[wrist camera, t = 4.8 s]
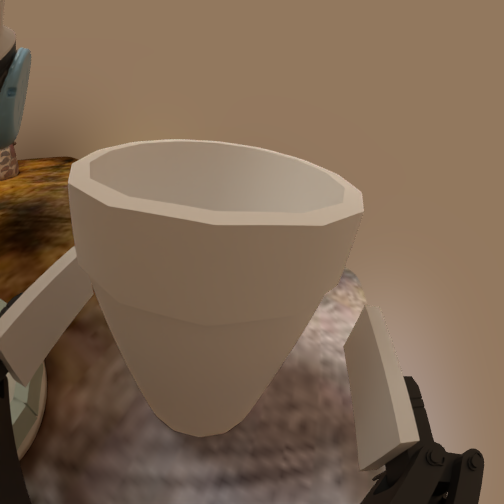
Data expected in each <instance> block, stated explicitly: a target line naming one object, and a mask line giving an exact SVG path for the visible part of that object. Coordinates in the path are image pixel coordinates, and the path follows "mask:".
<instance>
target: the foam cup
mask: <svg viewBox="0 0 504 504" xmlns="http://www.w3.org/2000/svg"><path fill="white" fill-rule="evenodd" d="M68 191H69V203H70V213H71V221H72V229H73V236H74V243H75V249H76V255H77V260H78V265H79V266H80V267H81V268H82V269H83V270H84V271H85V272H86V273H88V275H89V277H90V280H91V283H92V286H93V289H94V291H95V294H96V297H97V299H98V302H99V304H100V307H101V309H102V312H103V314H104V317H105V319H106V321H107V324H108V326H109V328H110V331H111V333H112V335H113V337H114V340H115V342H116V344H117V346H118V348H119V350H120V352H121V354H122V356H123V358H124V360H125V362H126V364H127V366H128V368H129V370H130V372H131V374H132V376H133V378H134V380H135V382H136V383H137V385H138V387H139V389H140V391H141V392H142V394H143V396H144V398H145V399H146V401H147V403H148V404H149V406H150V408H151V409H152V411H153V412H154V413H155V415H156V416H157V417H158V418H159V419H160V420H162V421H163V422H164V423H165V424H166V425H168V426H169V427H170V428H171V429H173V430H174V431H177V432H181V433H184V434H188V435H192V436H196V437H205V436H212V435H218V434H223V433H226V432H227V431H229V430H230V429H232V428H233V427H234V426H236V425H237V424H239V423H240V422H241V421H243V420H244V418H245V417H246V416H247V415H248V414H249V412H250V411H251V409H252V408H253V407H254V405H255V404H256V402H257V401H258V400H259V398H260V397H261V395H262V394H263V392H264V391H265V390H266V388H267V387H268V385H269V384H270V382H271V381H272V379H273V378H274V376H275V375H276V373H277V372H278V370H279V369H280V367H281V366H282V364H283V363H284V361H285V360H286V358H287V357H288V355H289V353H290V352H291V350H292V349H293V347H294V346H295V344H296V342H297V341H298V339H299V338H300V336H301V334H302V333H303V331H304V329H305V328H306V326H307V324H308V323H309V321H310V319H311V318H312V316H313V314H314V313H315V311H316V309H317V308H318V306H319V304H320V302H321V301H322V299H323V297H324V295H325V294H326V293H327V292H329V291H330V290H332V289H333V288H334V287H336V286H337V285H338V283H339V281H340V278H341V276H342V273H343V270H344V268H345V265H346V262H347V259H348V257H349V254H350V251H351V248H352V246H353V243H354V240H355V237H356V234H357V231H358V228H359V225H360V222H361V219H362V216H363V213H364V207H363V199H362V193H361V191H359V190H358V189H357V188H355V187H354V186H353V185H351V184H350V183H349V182H347V181H346V180H345V179H343V178H342V177H341V176H339V175H338V174H336V173H334V172H331V171H329V170H327V169H324V168H322V167H320V166H318V165H315V164H313V163H310V162H308V161H306V160H303V159H300V158H296V157H293V156H289V155H286V154H282V153H278V152H275V151H271V150H267V149H263V148H258V147H252V146H246V145H239V144H233V143H226V142H219V141H204V140H183V139H171V140H153V141H142V142H141V141H140V142H131V143H127V144H122V145H117V146H113V147H108V148H104V149H100V150H97V151H95V152H93V153H91V154H89V155H87V156H85V157H83V158H82V159H80V160H78V161H76V162H74V163H73V164H72V167H71V171H70V175H69V180H68Z"/></svg>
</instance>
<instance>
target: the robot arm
mask: <svg viewBox="0 0 504 504" xmlns="http://www.w3.org/2000/svg"><path fill="white" fill-rule="evenodd" d="M4 2H5V0H0V150H1V149H4V148H7V147H8V146H10V145H11V144H12V143H13V142H14V140H15V139H16V136H17V135H18V132H19V129H20V125H21V120H22V115H23V110H24V104H25V99H26V93H27V92H26V91H27V87H28V79H29V73H30V65H31V54H30V50H29V49H24V48H20V49H18V50H16V34H15V32H14V31H13V30H12V29H10V28H8V27H6V26H4V25H3V15H4ZM92 295H93V289H92V284H91V280H90V277H89V275H88V273H86V272H85V271H84V270H83V269H82V268H81V267H80V266H79V265H78V260H77V255H76V249H75V246H73V247H72V248H71V249H70V250H69V251H68V252H66V253H65V254H64V255H63V256H62V257H61V258H60V259H59V260H57V261H56V262H55V263H54V264H53V265H52V266H51V267H50V268H49V269H48V270H47V271H46V272H44V273H43V274H42V275H41V276H40V277H39V278H38V279H37V280H36V281H35V282H34V283H33V284H32V285H31V286H30V287H29V288H28V289H27V290H26V291H25V292H24V293H20V294H19V295H17V296H15V297H14V298H12V299H11V300H10V301H9V302H8V304H7V305H6V307H4V308H3V309H2V310H1V312H0V504H31V501H30V498H29V495H28V492H27V489H26V485H25V482H24V478H23V475H22V471H21V467H20V463H19V459H18V454H17V449H16V444H15V439H14V433H13V426H12V419H11V410H10V400H9V386H8V378H7V376H6V374H7V373H8V372H9V373H10V375H11V376H12V378H13V379H14V380H15V381H16V382H18V383H19V384H21V385H22V386H24V387H25V388H26V386H27V385H28V383H29V382H30V380H31V379H32V377H33V375H34V374H35V372H36V371H37V369H38V368H39V366H40V365H41V363H42V362H43V361H44V359H45V358H46V356H47V355H48V353H49V352H50V350H51V349H52V348H53V346H54V345H55V343H56V342H57V341H58V339H59V338H60V337H61V335H62V334H63V332H64V331H65V330H66V328H67V327H68V326H69V324H70V323H71V322H72V321H73V319H74V318H75V317H76V315H77V314H78V313H79V312H80V310H81V309H82V308H83V306H84V305H85V304H86V303H87V301H88V300H89V299H90V298H91V297H92ZM343 347H344V352H345V358H346V364H347V371H348V377H349V384H350V391H351V398H352V405H353V413H354V421H355V430H356V440H357V450H358V462H359V471H367V470H377V469H378V468H380V467H382V466H383V465H385V466H386V471H384V472H382V473H381V474H379V475H377V476H375V477H374V478H373V479H372V480H373V481H375V480H377V479H378V481H377V482H376V484H375V485H374V486H373V488H372V489H371V490H370V492H369V493H368V494H367V496H366V497H365V498H364V500H363V501H362V502H361V503H360V504H478V501H479V496H480V490H481V484H482V477H483V470H484V459H483V456H482V454H481V453H480V451H478V450H477V449H469V450H467V451H466V452H464V453H463V454H455V453H448V452H446V451H445V449H444V448H443V447H442V446H441V445H440V444H438V443H436V442H434V440H433V437H432V433H431V429H430V425H429V421H428V417H427V414H426V410H425V408H424V403H423V400H422V399H421V398H422V396H421V393H420V390H419V387H418V385H417V383H416V382H415V381H414V379H413V378H412V377H407V376H405V377H404V376H403V374H402V370H401V367H400V364H399V361H398V358H397V355H396V352H395V348H394V345H393V343H392V340H391V337H390V334H389V331H388V328H387V325H386V323H385V320H384V317H383V314H382V312H381V309H380V307H376V306H370V305H365V306H364V308H363V310H362V312H361V314H360V316H359V318H358V320H357V322H356V324H355V326H354V328H353V330H352V332H351V333H350V335H349V337H348V339H347V341H346V343H345V345H344V346H343ZM447 492H448V494H447ZM446 496H447V497H446Z"/></svg>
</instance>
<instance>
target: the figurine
mask: <svg viewBox="0 0 504 504" xmlns="http://www.w3.org/2000/svg"><path fill="white" fill-rule="evenodd" d="M14 145H16V142H13V143H12V144H11V145H10V146H8V147H7V148H4V149H1V150H0V181H1V180H6V179H9V178H12V177H14V176H16V175H17V174H18V172H19V169H18V162H17V158H16V153H15V149H14Z"/></svg>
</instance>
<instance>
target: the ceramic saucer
mask: <svg viewBox="0 0 504 504" xmlns="http://www.w3.org/2000/svg"><path fill="white" fill-rule="evenodd" d="M6 305H7V303H6V302H4V301H3V300H1V299H0V312H1V310H2V309H3V308H4V307H6ZM6 376H7V378H8V386H9V400H10V410H11V419H12V426H13V433H14V439H15V444H16V449H17V454H18V459H19V461H20V460H21V459H22V457H23V456H24V455H25V453H26V452H27V451H28V449H29V448H30V446H31V445H32V443H33V441H34V439H35V437H36V435H37V432H38V430H39V427H40V425H41V422H42V418H43V414H44V410H45V405H46V398H47V373H46V367H45V362H44V361H43V362H42V363H41V365H40V366H39V368H38V369H37V371H36V372H35V374H34V375H33V377H32V379H31V380H30V382H29V383H28V385H27V386H26V388H25V387H24V386H22V385H21V384H19V383H18V382H16V381H15V380H14V379H13V378H12V376H11V375H10V373H9V372H8V373H7V374H6Z"/></svg>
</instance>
